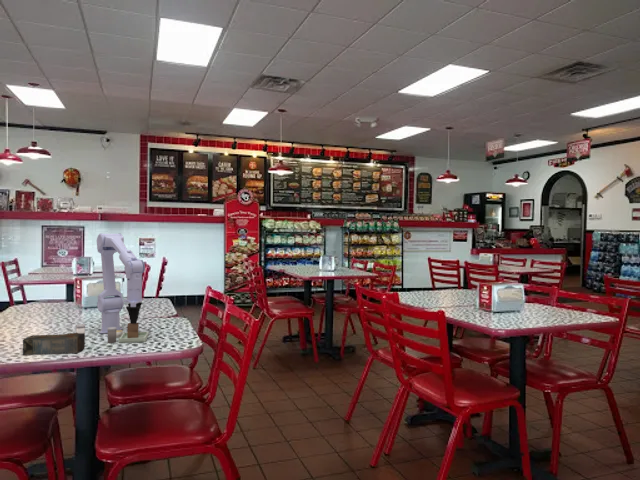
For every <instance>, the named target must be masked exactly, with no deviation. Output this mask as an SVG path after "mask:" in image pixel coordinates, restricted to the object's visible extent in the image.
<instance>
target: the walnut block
mask: <svg viewBox="0 0 640 480" xmlns="http://www.w3.org/2000/svg"><path fill="white" fill-rule="evenodd" d="M126 326H127V329H126V330H127V332H126V333H127V338H138V332H139V322H137V323H136V324H131V322H128V323H127V325H126Z"/></svg>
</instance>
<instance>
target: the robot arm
mask: <svg viewBox="0 0 640 480" xmlns="http://www.w3.org/2000/svg"><path fill="white" fill-rule="evenodd" d="M96 249H97V253H99V254H100V258H101V271H102V282H103V290H102V291H101V292H100V293H99V294H98V295H97V301H96V303H97V304H96V306H97V309H98V311H99V313H101V330H99V332H98V333H99V334H108V327H117V330H123V327H120V323H121V321H120V319H121V317H120V312H121V311H122V309H123V308H124V305H125V304H124V303H127V306H126V307H125V308H126V311H127V314H128V316H129V323H131V324H136V323H138V319H139V316H140V315H139V313H140V310H141V308H142V305H143V299H142V298H143V292H142V291H143V288H142V287H143V274H144V272H145V269H146V265H145V263H144V260H143V259H140V258H139V259H138V258H137V256H136V255H135V254H134V253H133V251H132V250H131V249H128V248H127V247H126V245H125V240H124V236H123V234H122V233H102V232H100V233H99V234H98V235H97V237H96ZM115 253H117V254H119V255H118V258H119V260H120V261H121V263H122V264H123V266H124V272H125V278H126V299H124V298H123V295H122V292H121V291H119V290H118V289H117V285H116V274H115V261H114V254H115Z"/></svg>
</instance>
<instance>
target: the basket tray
mask: <svg viewBox="0 0 640 480" xmlns="http://www.w3.org/2000/svg"><path fill="white" fill-rule="evenodd" d="M149 333H150V332H149V331H140V332H139V331H138V338H127V332H123V334H122V336H121V337H120V338H118V344H130V343H131V344H133V343H146V342H147V340H148V338H149V337H150V335H149Z"/></svg>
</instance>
